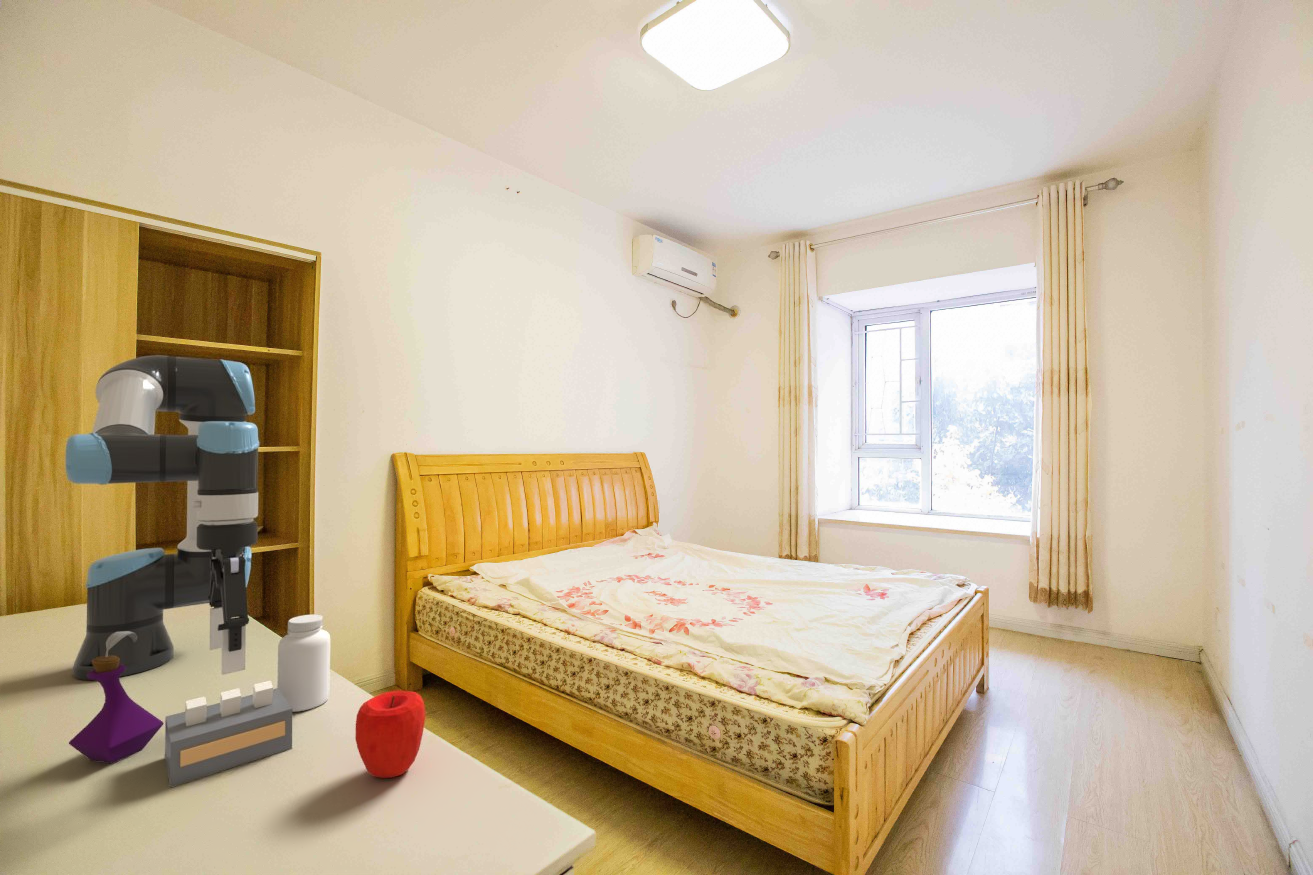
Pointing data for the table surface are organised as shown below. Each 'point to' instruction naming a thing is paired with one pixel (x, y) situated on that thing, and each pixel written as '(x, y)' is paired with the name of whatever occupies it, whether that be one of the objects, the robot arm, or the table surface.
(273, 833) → the table surface
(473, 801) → the table surface
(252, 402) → the robot arm
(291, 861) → the table surface
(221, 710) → the paddle middle
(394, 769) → the apple
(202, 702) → the paddle left
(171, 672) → the table surface
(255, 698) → the cream sugar cube
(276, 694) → the breaker panel
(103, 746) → the perfume bottle
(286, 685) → the pill bottle
